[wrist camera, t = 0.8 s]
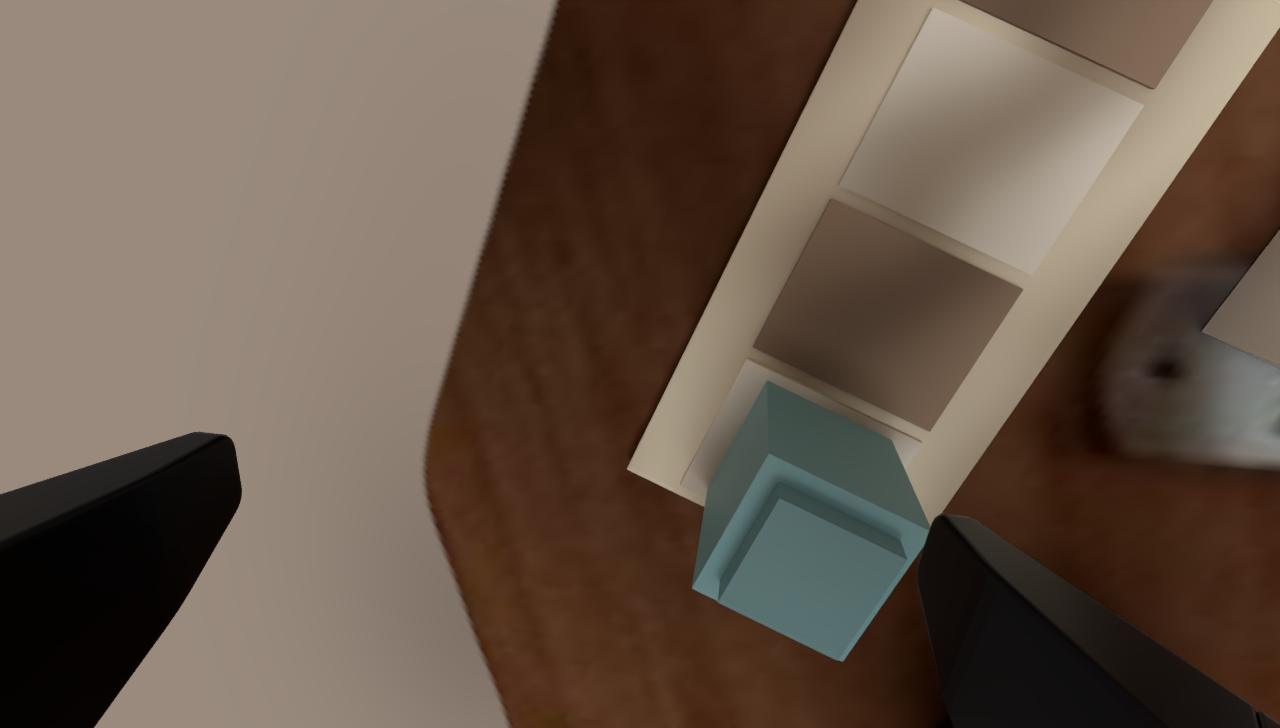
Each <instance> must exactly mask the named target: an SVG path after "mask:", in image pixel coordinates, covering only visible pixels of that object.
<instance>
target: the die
mask: <svg viewBox="0 0 1280 728" xmlns="http://www.w3.org/2000/svg"><path fill="white" fill-rule="evenodd" d="M1201 332H1203V333H1205V334H1207V335H1209V336H1212V337H1214V338H1216V339H1218V340H1220V341H1222V342H1224V343H1226V344H1229V345H1231V346H1233V347H1235V348H1237V349H1239V350H1241V351H1243V352H1245V353H1248V354H1250V355H1252V356H1254V357H1256V358H1258V359H1260V360H1262V361H1265V362H1267V363H1269V364H1271V365H1273V366H1275V367H1277V368H1279V369H1280V230H1279V231H1278V232H1277V234H1276V235H1275V236H1274V238H1273V239H1272V240H1271V242H1270V243H1269V244H1268V246H1267V247H1266V248H1265V249H1264V251H1263V252H1262V253H1261V255H1260V256H1259V257H1258V259H1257V260H1256V261H1255V262H1254V264H1253V265H1252V266H1251V268H1250V269H1249V270H1248V272H1247V273H1246V274H1245V275H1244V277H1243V278H1242V279H1241V281H1240V282H1239V283H1238V285H1237V286H1236V287H1235V288H1234V290H1233V291H1232V292H1231V294H1230V295H1229V296H1228V298H1227V299H1226V300H1225V301H1224V303H1223V304H1222V305H1221V307H1220V308H1219V309H1218V311H1217V312H1216V313H1215V314H1214V316H1213V317H1212V318H1211V320H1210V321H1209V322H1208V324H1207V325H1206V326H1205V328H1204V329H1203V330H1202V331H1201Z"/></svg>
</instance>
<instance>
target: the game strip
mask: <svg viewBox="0 0 1280 728" xmlns="http://www.w3.org/2000/svg"><path fill="white" fill-rule="evenodd" d="M1279 27H1280V0H857V2H856V4H855V6H854V8H853V10H852V12H851V14H850V16H849V18H848V20H847V22H846V24H845V26H844V28H843V30H842V33H841V35H840V37H839V39H838V41H837V43H836V45H835V47H834V49H833V51H832V53H831V55H830V57H829V59H828V61H827V63H826V65H825V67H824V69H823V71H822V73H821V75H820V77H819V79H818V81H817V83H816V85H815V87H814V89H813V91H812V93H811V95H810V97H809V99H808V101H807V104H806V106H805V108H804V110H803V112H802V114H801V116H800V118H799V120H798V122H797V124H796V126H795V128H794V130H793V132H792V134H791V136H790V138H789V140H788V142H787V144H786V146H785V148H784V150H783V152H782V154H781V156H780V158H779V160H778V162H777V164H776V166H775V168H774V170H773V173H772V175H771V177H770V179H769V181H768V183H767V185H766V187H765V189H764V191H763V193H762V195H761V197H760V199H759V201H758V203H757V205H756V207H755V209H754V211H753V213H752V215H751V217H750V219H749V221H748V223H747V225H746V227H745V229H744V231H743V233H742V235H741V237H740V239H739V241H738V244H737V246H736V248H735V250H734V252H733V254H732V256H731V258H730V260H729V262H728V264H727V266H726V268H725V270H724V272H723V274H722V276H721V278H720V280H719V282H718V284H717V286H716V288H715V290H714V292H713V294H712V296H711V298H710V300H709V302H708V304H707V306H706V308H705V310H704V312H703V315H702V317H701V319H700V321H699V323H698V325H697V327H696V329H695V331H694V333H693V335H692V337H691V339H690V341H689V343H688V345H687V347H686V349H685V351H684V353H683V355H682V357H681V359H680V361H679V363H678V365H677V367H676V369H675V371H674V373H673V375H672V377H671V379H670V381H669V383H668V386H667V388H666V390H665V392H664V394H663V396H662V398H661V400H660V402H659V404H658V406H657V408H656V410H655V412H654V414H653V416H652V418H651V420H650V422H649V424H648V426H647V428H646V430H645V432H644V434H643V436H642V438H641V440H640V442H639V444H638V446H637V448H636V450H635V452H634V454H633V457H632V459H631V461H630V463H629V465H628V468H627V470H629V471H631V472H633V473H635V474H637V475H639V476H641V477H643V478H646V479H648V480H650V481H652V482H654V483H656V484H658V485H660V486H662V487H664V488H666V489H668V490H670V491H672V492H674V493H676V494H679V495H681V496H683V497H685V498H687V499H689V500H691V501H693V502H695V503H697V504H699V505H701V506H703V507H705V500H706V494H707V489H708V487H709V485H710V483H711V481H712V480H713V478H714V476H715V474H716V472H717V470H718V469H719V467H720V465H721V463H722V461H723V459H724V458H725V456H726V454H727V452H728V450H729V449H730V447H731V445H732V443H733V441H734V439H735V438H736V436H737V434H738V432H739V430H740V428H741V427H742V425H743V423H744V421H745V419H746V417H747V416H748V414H749V412H750V410H751V408H752V406H753V405H754V403H755V401H756V399H757V397H758V395H759V394H760V392H761V390H762V388H763V386H764V385H765V383H766V381H767V380H768V381H770V382H772V383H774V384H776V385H778V386H780V387H782V388H784V389H786V390H789V391H791V392H793V393H795V394H797V395H799V396H801V397H803V398H805V399H807V400H809V401H811V402H814V403H816V404H818V405H820V406H822V407H824V408H826V409H828V410H830V411H832V412H834V413H837V414H839V415H841V416H843V417H845V418H847V419H849V420H851V421H853V422H855V423H857V424H859V425H862V426H864V427H866V428H868V429H870V430H872V431H874V432H876V433H878V434H880V435H882V436H884V437H887V438H889V439H891V440H892V442H893V444H894V446H895V448H896V451H897V453H898V455H899V457H900V460H901V462H902V464H903V466H904V469H905V471H906V473H907V475H908V478H909V480H910V482H911V484H912V487H913V489H914V491H915V493H916V495H917V498H918V500H919V502H920V504H921V507H922V509H923V511H924V513H925V516H926V518H927V520H928V522H929V525H930V526H931V524H932V522H933V520H934V518H935V517H936V516H938V515H940V514H941V513H942V512H943V510H944V509H945V507H946V506H947V505H948V503H949V502H950V500H951V499H952V497H953V496H954V495H955V493H956V492H957V490H958V489H959V487H960V486H961V484H962V483H963V482H964V480H965V479H966V477H967V476H968V474H969V473H970V472H971V470H972V469H973V467H974V466H975V464H976V463H977V461H978V460H979V459H980V457H981V456H982V454H983V453H984V451H985V450H986V449H987V447H988V446H989V444H990V443H991V441H992V440H993V438H994V437H995V436H996V434H997V433H998V431H999V430H1000V428H1001V427H1002V426H1003V424H1004V423H1005V421H1006V420H1007V418H1008V417H1009V415H1010V414H1011V413H1012V411H1013V410H1014V408H1015V407H1016V405H1017V404H1018V403H1019V401H1020V400H1021V398H1022V397H1023V395H1024V394H1025V392H1026V391H1027V390H1028V388H1029V387H1030V385H1031V384H1032V382H1033V381H1034V380H1035V378H1036V377H1037V375H1038V374H1039V372H1040V371H1041V369H1042V368H1043V367H1044V365H1045V364H1046V362H1047V361H1048V359H1049V358H1050V357H1051V355H1052V354H1053V352H1054V351H1055V349H1056V348H1057V346H1058V345H1059V344H1060V342H1061V341H1062V339H1063V338H1064V336H1065V335H1066V334H1067V332H1068V331H1069V329H1070V328H1071V326H1072V325H1073V323H1074V322H1075V321H1076V319H1077V318H1078V316H1079V315H1080V313H1081V312H1082V311H1083V309H1084V308H1085V306H1086V305H1087V303H1088V302H1089V301H1090V299H1091V298H1092V296H1093V295H1094V293H1095V292H1096V290H1097V289H1098V288H1099V286H1100V285H1101V283H1102V282H1103V280H1104V279H1105V278H1106V276H1107V275H1108V273H1109V272H1110V270H1111V269H1112V267H1113V266H1114V265H1115V263H1116V262H1117V260H1118V259H1119V257H1120V256H1121V255H1122V253H1123V252H1124V250H1125V249H1126V247H1127V246H1128V244H1129V243H1130V242H1131V240H1132V239H1133V237H1134V236H1135V234H1136V233H1137V232H1138V230H1139V229H1140V227H1141V226H1142V224H1143V223H1144V221H1145V220H1146V219H1147V217H1148V216H1149V214H1150V213H1151V211H1152V210H1153V209H1154V207H1155V206H1156V204H1157V203H1158V201H1159V200H1160V198H1161V197H1162V196H1163V194H1164V193H1165V191H1166V190H1167V188H1168V187H1169V186H1170V184H1171V183H1172V181H1173V180H1174V178H1175V177H1176V175H1177V174H1178V173H1179V171H1180V170H1181V168H1182V167H1183V165H1184V164H1185V163H1186V161H1187V160H1188V158H1189V157H1190V155H1191V154H1192V152H1193V151H1194V150H1195V148H1196V147H1197V145H1198V144H1199V142H1200V141H1201V140H1202V138H1203V137H1204V135H1205V134H1206V132H1207V131H1208V129H1209V128H1210V127H1211V125H1212V124H1213V122H1214V121H1215V119H1216V118H1217V117H1218V115H1219V114H1220V112H1221V111H1222V109H1223V108H1224V106H1225V105H1226V104H1227V102H1228V101H1229V99H1230V98H1231V96H1232V95H1233V94H1234V92H1235V91H1236V89H1237V88H1238V86H1239V85H1240V83H1241V82H1242V81H1243V79H1244V78H1245V76H1246V75H1247V73H1248V72H1249V71H1250V69H1251V68H1252V66H1253V65H1254V63H1255V62H1256V60H1257V59H1258V58H1259V56H1260V55H1261V53H1262V52H1263V50H1264V49H1265V48H1266V46H1267V45H1268V43H1269V42H1270V40H1271V39H1272V37H1273V36H1274V35H1275V33H1276V32H1277V30H1278V29H1279Z"/></svg>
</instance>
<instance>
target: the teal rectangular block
mask: <svg viewBox="0 0 1280 728" xmlns="http://www.w3.org/2000/svg"><path fill="white" fill-rule="evenodd" d="M929 529H930V525H929V522H928V520H927V518H926V516H925V513H924V511H923V509H922V507H921V504H920V502H919V500H918V498H917V495H916V493H915V491H914V489H913V487H912V484H911V482H910V480H909V478H908V475H907V473H906V471H905V469H904V466H903V464H902V462H901V460H900V457H899V455H898V453H897V451H896V448H895V446H894V444H893V442H892V440H891V439H889V438H887V437H884V436H882V435H880V434H878V433H876V432H874V431H872V430H870V429H868V428H866V427H864V426H862V425H859V424H857V423H855V422H853V421H851V420H849V419H847V418H845V417H843V416H841V415H839V414H837V413H834V412H832V411H830V410H828V409H826V408H824V407H822V406H820V405H818V404H816V403H814V402H811V401H809V400H807V399H805V398H803V397H801V396H799V395H797V394H795V393H793V392H791V391H789V390H786V389H784V388H782V387H780V386H778V385H776V384H774V383H772V382H770V381H768V380H767V381H766V383H765V385H764V386H763V388H762V390H761V392H760V394H759V395H758V397H757V399H756V401H755V403H754V405H753V406H752V408H751V410H750V412H749V414H748V416H747V417H746V419H745V421H744V423H743V425H742V427H741V428H740V430H739V432H738V434H737V436H736V438H735V439H734V441H733V443H732V445H731V447H730V449H729V450H728V452H727V454H726V456H725V458H724V459H723V461H722V463H721V465H720V467H719V469H718V470H717V472H716V474H715V476H714V478H713V480H712V481H711V483H710V485H709V487H708V489H707V494H706V500H705V507H704V513H703V520H702V526H701V532H700V539H699V545H698V552H697V558H696V564H695V571H694V577H693V584H692V589H694V590H696V591H698V592H700V593H702V594H704V595H706V596H708V597H710V598H712V599H714V600H716V601H718V603H720V604H722V605H724V606H726V607H728V608H730V609H732V610H734V611H736V612H738V613H740V614H742V615H744V616H746V617H748V618H751V619H753V620H755V621H757V622H759V623H761V624H763V625H765V626H767V627H769V628H771V629H773V630H775V631H777V632H779V633H781V634H783V635H785V636H787V637H790V638H792V639H794V640H796V641H798V642H800V643H802V644H804V645H806V646H808V647H810V648H812V649H814V650H816V651H818V652H820V653H822V654H824V655H826V656H829V657H831V658H833V659H835V660H837V661H838V660H840V661H842V662H843V661H844V659H845V658H846V657H847V655H848V654H849V652H850V651H851V649H852V648H853V647H854V645H855V644H856V642H857V641H858V639H859V638H860V637H861V635H862V634H863V632H864V631H865V629H866V628H867V626H868V625H869V624H870V622H871V621H872V619H873V618H874V616H875V615H876V614H877V612H878V611H879V609H880V608H881V606H882V605H883V604H884V602H885V601H886V599H887V598H888V596H889V595H890V594H891V592H892V591H893V589H894V588H895V586H896V585H897V584H898V582H899V581H900V579H901V578H902V576H903V575H904V574H905V572H906V571H907V569H908V568H909V566H910V565H911V564H912V562H913V561H914V559H915V558H916V556H917V555H918V554H919V552H920V551H921V549H922V548H923V546H924V544H925V541H926V538H927V535H928V532H929Z"/></svg>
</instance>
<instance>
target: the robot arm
mask: <svg viewBox="0 0 1280 728" xmlns="http://www.w3.org/2000/svg"><path fill="white" fill-rule="evenodd" d="M241 495H242V488H241V481H240V475H239V469H238V462H237V457H236V450H235V446H234V443H233V441H232V439H231V438H229V437H228V436H227V435H223V434H213V433H204V432H193V433H189V434H186V435H183V436H181V437H177V438H174V439H171V440H168V441H165V442H161V443H158V444H155V445H152V446H149V447H146V448H143V449H140V450H137V451H134V452H131V453H127V454H124V455H121V456H118V457H115V458H112V459H109V460H106V461H103V462H99V463H96V464H94V465H90V466H87V467H84V468H81V469H78V470H75V471H72V472H69V473H66V474H62V475H59V476H56V477H53V478H50V479H47V480H44V481H41V482H37V483H35V484H31V485H28V486H25V487H22V488H19V489H16V490H13V491H9V492H6V493H3V494H0V728H94V727H95V726H96V724H97V723H98V721H99V720H100V719H101V717H102V716H103V715H104V713H105V712H106V710H107V709H108V707H109V706H110V705H111V703H112V702H113V701H114V699H115V698H116V697H117V695H118V694H119V692H120V691H121V690H122V688H123V687H124V686H125V684H126V683H127V681H128V680H129V678H130V677H131V676H132V675H133V673H134V672H135V670H136V669H137V668H138V666H139V665H140V663H141V662H142V661H143V659H144V658H145V657H146V655H147V654H148V652H149V651H150V650H151V648H152V647H153V645H154V644H155V643H156V641H157V640H158V638H159V637H160V636H161V634H162V633H163V632H164V630H165V629H166V627H167V626H168V625H169V623H170V622H171V620H172V619H173V617H174V616H175V614H176V613H177V611H178V610H179V608H180V607H181V605H182V604H183V602H184V600H185V599H186V597H187V595H188V594H189V592H190V591H191V589H192V587H193V585H194V584H195V582H196V580H197V578H198V576H199V575H200V573H201V571H202V570H203V568H204V566H205V565H206V563H207V561H208V559H209V558H210V556H211V554H212V552H213V551H214V549H215V547H216V545H217V544H218V542H219V540H220V539H221V537H222V535H223V533H224V532H225V530H226V528H227V526H228V525H229V523H230V521H231V519H232V518H233V516H234V514H235V513H236V511H237V509H238V507H239V504H240V500H241ZM917 584H918V589H919V593H920V598H921V602H922V607H923V611H924V616H925V620H926V625H927V629H928V634H929V638H930V643H931V647H932V652H933V656H934V661H935V665H936V670H937V674H938V678H939V682H940V686H941V690H942V694H943V697H944V700H945V704H946V707H947V710H948V714H947V715H946V716H945V721H944V722H943V723H942V724H941V726H940V727H939V728H1280V723H1278V722H1277V721H1275V720H1274V719H1272V718H1271V717H1269V716H1268V715H1266V714H1265V713H1263V712H1256V711H1255V708H1254V707H1253V706H1252V705H1251V704H1250V703H1248V702H1247V701H1245V700H1244V699H1242V698H1241V697H1239V696H1238V695H1236V694H1235V693H1233V692H1232V691H1230V690H1229V689H1227V688H1226V687H1224V686H1223V685H1221V684H1220V683H1218V682H1217V681H1215V680H1214V679H1212V678H1211V677H1209V676H1208V675H1206V674H1205V673H1203V672H1202V671H1200V670H1199V669H1197V668H1196V667H1194V666H1193V665H1191V664H1190V663H1188V662H1187V661H1185V660H1184V659H1182V658H1181V657H1179V656H1178V655H1176V654H1175V653H1173V652H1172V651H1170V650H1169V649H1167V648H1166V647H1164V646H1163V645H1161V644H1160V643H1158V642H1157V641H1155V640H1154V639H1152V638H1151V637H1149V636H1148V635H1146V634H1145V633H1143V632H1142V631H1140V630H1139V629H1138V628H1136V627H1135V626H1133V625H1132V624H1130V623H1129V622H1127V621H1126V620H1124V619H1123V618H1121V617H1120V616H1118V615H1117V614H1115V613H1114V612H1112V611H1111V610H1109V609H1108V608H1106V607H1105V606H1103V605H1102V604H1100V603H1099V602H1097V601H1096V600H1094V599H1093V598H1091V597H1090V596H1088V595H1087V594H1085V593H1084V592H1082V591H1081V590H1079V589H1078V588H1076V587H1075V586H1073V585H1072V584H1070V583H1069V582H1067V581H1066V580H1064V579H1063V578H1061V577H1060V576H1058V575H1057V574H1055V573H1054V572H1052V571H1051V570H1050V569H1048V568H1047V567H1045V566H1044V565H1042V564H1041V563H1039V562H1038V561H1036V560H1035V559H1033V558H1032V557H1030V556H1029V555H1027V554H1026V553H1024V552H1023V551H1021V550H1020V549H1018V548H1017V547H1015V546H1014V545H1012V544H1011V543H1009V542H1008V541H1006V540H1005V539H1003V538H1002V537H1000V536H999V535H997V534H996V533H994V532H993V531H991V530H990V529H988V528H987V527H985V526H984V525H982V524H981V523H979V522H978V521H976V520H975V519H973V518H971V517H968V516H959V515H950V514H940V515H938V516H936V517H935V518H934V520H933V522H932V524H931V526H930V529H929V532H928V535H927V538H926V541H925V544H924V547H923V550H922V553H921V556H920V560H919V563H918V567H917Z"/></svg>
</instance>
